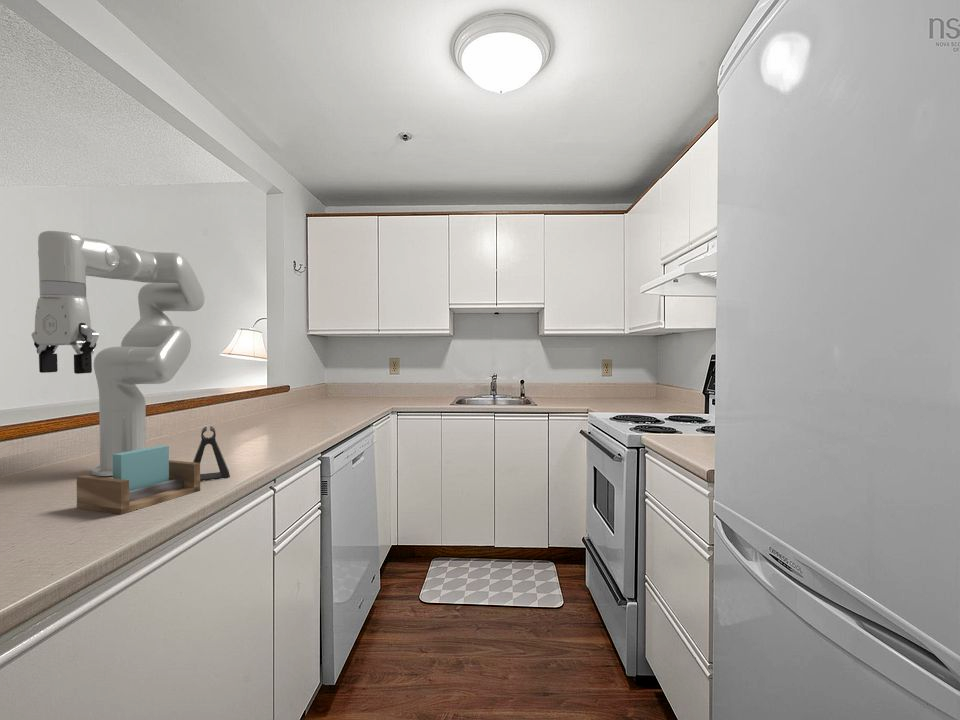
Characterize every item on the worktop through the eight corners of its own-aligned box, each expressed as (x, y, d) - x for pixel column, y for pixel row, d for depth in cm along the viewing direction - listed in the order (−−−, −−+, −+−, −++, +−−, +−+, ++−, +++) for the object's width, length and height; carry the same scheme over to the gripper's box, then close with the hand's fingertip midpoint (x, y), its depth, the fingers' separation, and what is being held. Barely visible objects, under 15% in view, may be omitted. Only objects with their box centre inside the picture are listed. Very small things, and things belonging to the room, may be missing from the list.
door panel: (160, 486, 106) (160, 445, 106) (169, 487, 105) (168, 446, 105) (112, 499, 96) (112, 454, 96) (121, 501, 96) (121, 455, 95)
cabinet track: (159, 485, 110) (159, 459, 110) (200, 490, 107) (200, 462, 107) (76, 507, 94) (76, 476, 94) (121, 514, 91) (120, 482, 90)
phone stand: (229, 472, 123) (229, 425, 123) (229, 477, 118) (229, 428, 118) (187, 476, 119) (187, 427, 119) (186, 482, 113) (186, 430, 113)
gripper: (12, 291, 102) (15, 373, 102) (75, 289, 97) (78, 374, 98) (52, 294, 109) (54, 371, 110) (112, 292, 105) (114, 372, 105)
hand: (65, 372), depth 104 cm, fingers open, 9 cm apart
